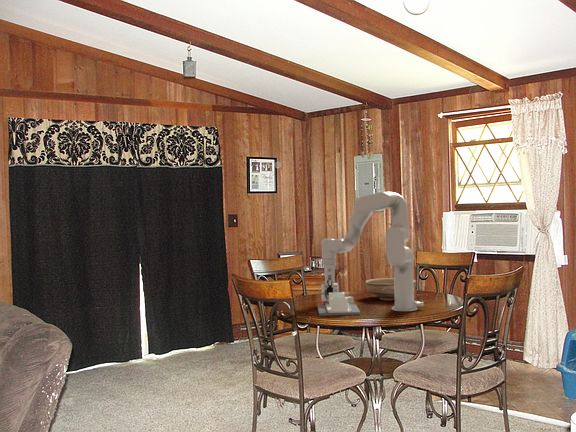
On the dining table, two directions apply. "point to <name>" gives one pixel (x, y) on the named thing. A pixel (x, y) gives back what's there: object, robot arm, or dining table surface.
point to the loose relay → (350, 300)
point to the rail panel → (324, 310)
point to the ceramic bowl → (382, 288)
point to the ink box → (324, 292)
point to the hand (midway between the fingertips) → (329, 293)
